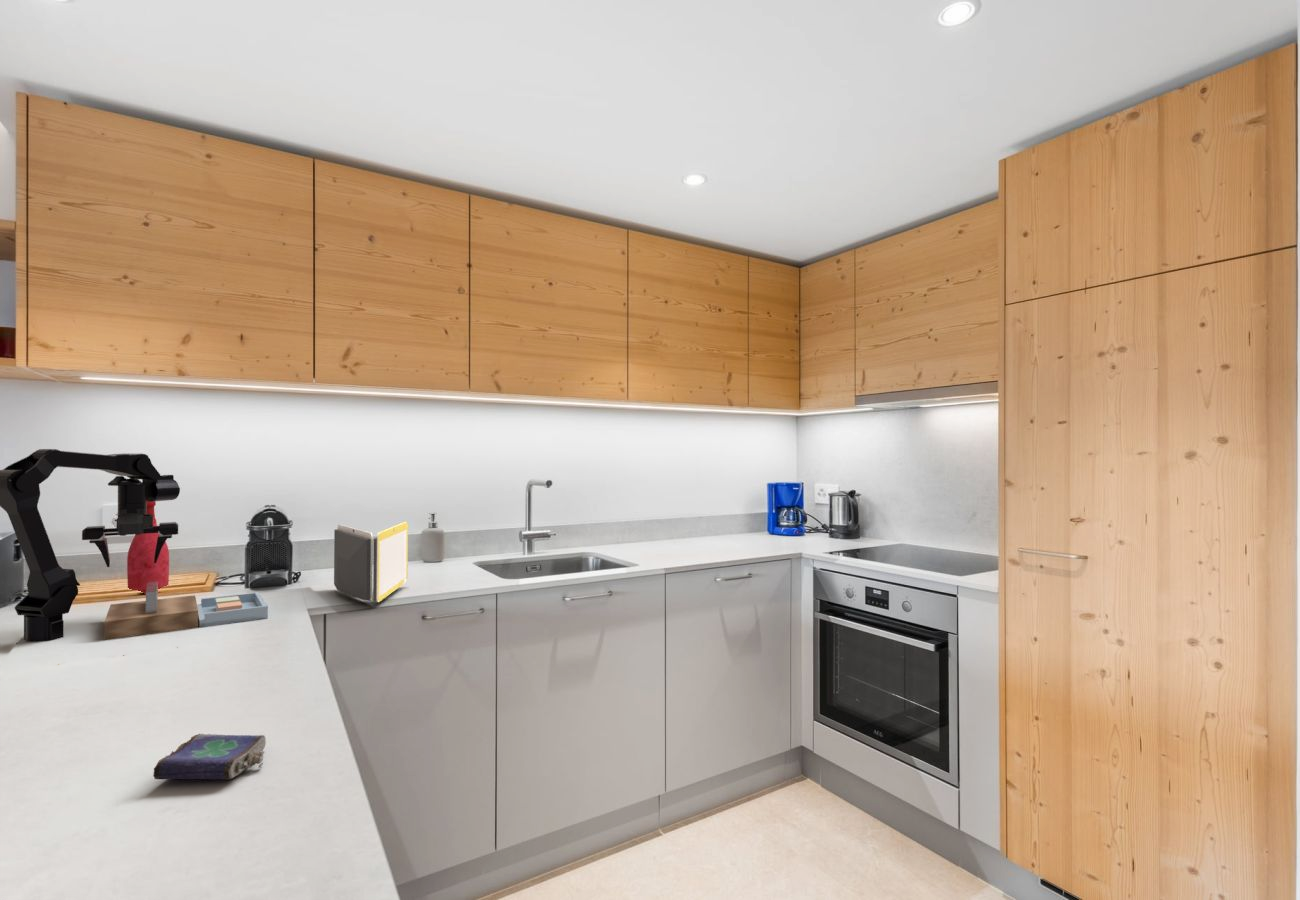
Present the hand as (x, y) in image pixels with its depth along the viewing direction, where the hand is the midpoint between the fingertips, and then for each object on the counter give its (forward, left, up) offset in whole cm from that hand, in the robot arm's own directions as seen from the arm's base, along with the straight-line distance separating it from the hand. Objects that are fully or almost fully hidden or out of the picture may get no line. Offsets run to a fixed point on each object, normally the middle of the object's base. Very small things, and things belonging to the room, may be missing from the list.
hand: (132, 565), depth 163 cm
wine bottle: (-22, +26, -13) cm, 37 cm away
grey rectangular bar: (+11, -6, -9) cm, 16 cm away
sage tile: (+20, +8, -10) cm, 23 cm away
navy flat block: (+80, -68, -14) cm, 106 cm away
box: (+23, +6, -13) cm, 27 cm away
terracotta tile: (+25, +3, -10) cm, 27 cm away
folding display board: (+45, +38, -13) cm, 61 cm away
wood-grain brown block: (+11, -5, -13) cm, 18 cm away
